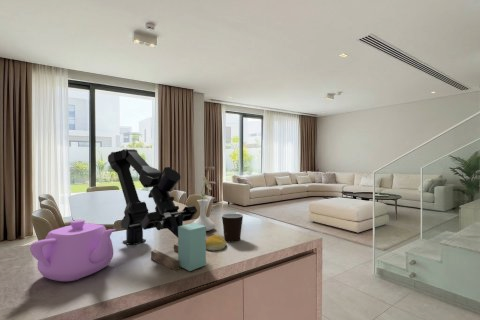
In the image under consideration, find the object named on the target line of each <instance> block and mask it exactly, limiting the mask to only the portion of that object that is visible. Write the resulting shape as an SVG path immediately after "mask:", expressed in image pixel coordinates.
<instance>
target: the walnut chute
mask: <svg viewBox="0 0 480 320" xmlns="http://www.w3.org/2000/svg"><path fill="white" fill-rule="evenodd" d="M150 258H151V259H152V260H154V261H155V262H157V263H159V264H161V265H162V266H165V267H167V268H169V269H171V270H172V271H177V270H179V269H182V268H183V267H181V266H179V261H178V242H177V243H174V244H173V250H170V251H168V252H164V253H163V252H161V251H159V250H156V249H151V251H150ZM183 269H184V268H183Z"/></svg>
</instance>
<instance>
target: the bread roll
mask: <svg viewBox="0 0 480 320" xmlns="http://www.w3.org/2000/svg"><path fill="white" fill-rule="evenodd" d="M226 245H227V242H226V241H225V239H224V236H221V235H217V234H213V235H210V236H208V237H206V251H220V250H222V249H225V248H226Z"/></svg>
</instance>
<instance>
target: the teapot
mask: <svg viewBox="0 0 480 320" xmlns="http://www.w3.org/2000/svg"><path fill="white" fill-rule="evenodd" d="M69 224H70V225H67V226H62V227H59V228H56V229H53V230H50V231H49V232H48V233H47V234H46V237H45V239H40V240H36V241H34V242H32V243H31V245H30V247H29V251H30V253H31V255H32V257H33V258H34V259H35V260H37V270H38V272H39V273H40V274H41V276H43V277H44V278H46V279H49V280H52V281H56V282H57V281H58V282H75V281H78V280H80V279H82V278H85V277H88V276H91V275H92V274H95V273H97V272H99V271H101V270H102V269H105V267H107V266H109V264H110V262H112V260H113V258H114V245H113V242H112V238H111V235H112V234H113V233H114V232H115V231H116V228H111V229H107V228H106V226H105V225H104V224H99V223H92V222H86V220H84V219H75V220H72V221H70V223H69Z"/></svg>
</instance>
